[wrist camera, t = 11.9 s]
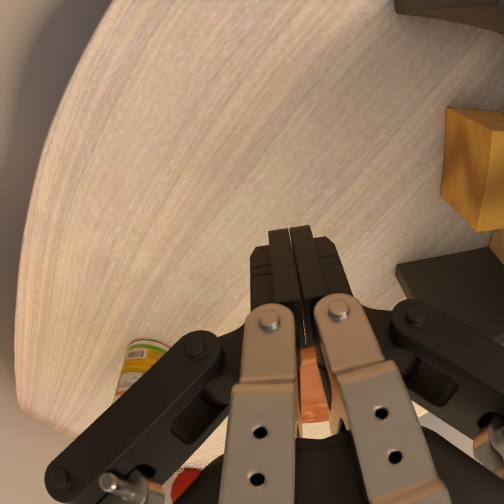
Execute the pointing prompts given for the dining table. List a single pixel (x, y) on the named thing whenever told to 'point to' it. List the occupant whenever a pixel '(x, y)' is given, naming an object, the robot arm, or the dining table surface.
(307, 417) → the saucer
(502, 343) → the small wooden bench
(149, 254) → the dining table surface
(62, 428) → the dining table surface
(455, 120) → the box
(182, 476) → the apple
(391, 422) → the robot arm
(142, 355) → the supplement bottle
